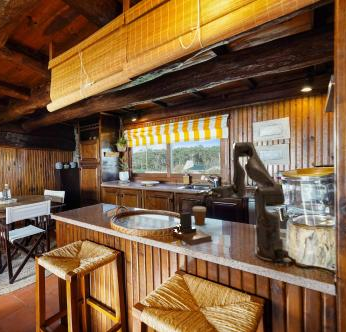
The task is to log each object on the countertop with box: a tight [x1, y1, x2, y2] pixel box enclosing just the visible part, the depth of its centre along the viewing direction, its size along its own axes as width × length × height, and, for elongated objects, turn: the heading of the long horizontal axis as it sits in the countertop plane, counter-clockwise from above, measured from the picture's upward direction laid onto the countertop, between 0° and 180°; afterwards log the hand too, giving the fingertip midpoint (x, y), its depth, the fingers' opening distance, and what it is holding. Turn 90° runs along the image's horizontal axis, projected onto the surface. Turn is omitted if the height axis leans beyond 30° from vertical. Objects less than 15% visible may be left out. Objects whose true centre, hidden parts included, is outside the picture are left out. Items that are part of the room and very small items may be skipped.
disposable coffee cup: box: [192, 205, 207, 226], centre depth 152 cm, size 10×10×12 cm
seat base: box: [172, 224, 212, 246], centre depth 126 cm, size 18×14×6 cm
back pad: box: [179, 211, 193, 232], centre depth 131 cm, size 4×6×11 cm, turn 111°
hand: (199, 195), depth 134 cm, fingers open, 8 cm apart
